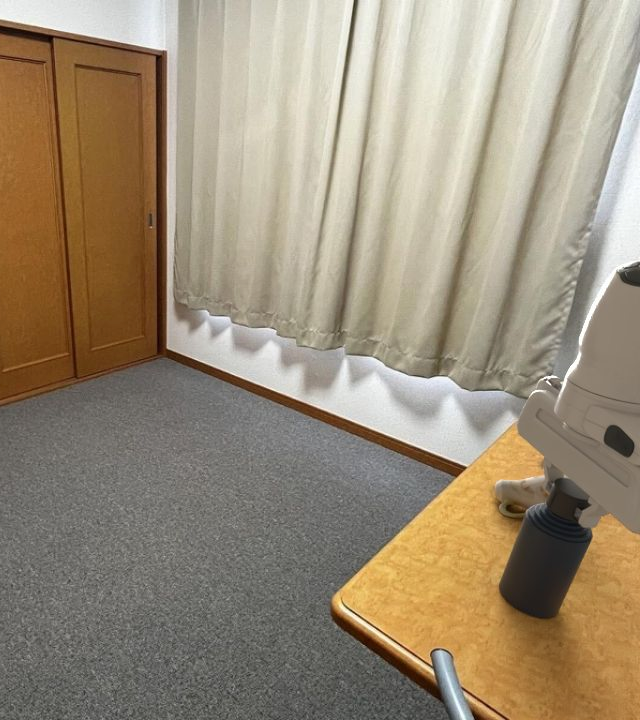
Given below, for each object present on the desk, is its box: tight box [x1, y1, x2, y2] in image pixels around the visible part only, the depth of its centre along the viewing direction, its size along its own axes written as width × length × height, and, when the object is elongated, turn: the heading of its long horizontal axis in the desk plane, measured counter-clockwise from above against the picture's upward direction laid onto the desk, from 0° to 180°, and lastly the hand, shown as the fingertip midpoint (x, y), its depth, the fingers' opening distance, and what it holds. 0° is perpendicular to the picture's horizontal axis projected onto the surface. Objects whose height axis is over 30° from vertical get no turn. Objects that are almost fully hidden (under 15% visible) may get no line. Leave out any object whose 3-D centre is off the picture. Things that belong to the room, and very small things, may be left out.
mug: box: [494, 474, 549, 519], centre depth 79 cm, size 8×10×10 cm
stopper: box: [546, 478, 592, 521], centre depth 57 cm, size 4×4×3 cm
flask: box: [498, 503, 594, 620], centre depth 61 cm, size 7×7×18 cm
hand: (567, 507), depth 58 cm, fingers closed on stopper, 4 cm apart
